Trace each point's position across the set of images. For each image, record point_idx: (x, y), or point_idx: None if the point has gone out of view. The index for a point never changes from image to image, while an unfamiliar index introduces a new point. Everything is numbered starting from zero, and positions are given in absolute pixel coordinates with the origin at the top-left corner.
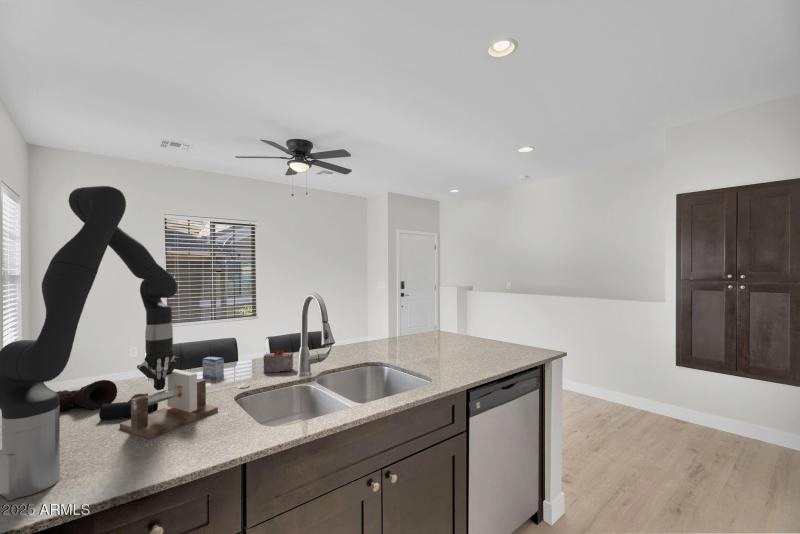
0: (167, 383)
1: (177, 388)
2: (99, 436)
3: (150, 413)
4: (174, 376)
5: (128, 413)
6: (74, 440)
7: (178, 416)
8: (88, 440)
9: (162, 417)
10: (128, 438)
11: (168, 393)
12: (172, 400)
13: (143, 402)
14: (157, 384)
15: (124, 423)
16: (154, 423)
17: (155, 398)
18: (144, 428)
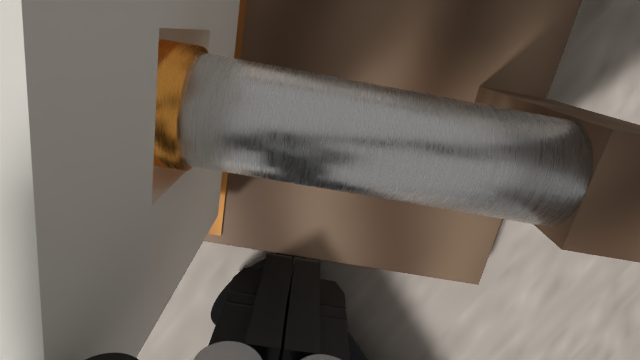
0: (149, 332)
1: (203, 86)
2: (571, 270)
3: (316, 245)
4: (92, 266)
5: (362, 353)
6: (620, 334)
7: (299, 1)
8: (618, 277)
9: None
10: (582, 94)
11: (339, 89)
12: (210, 174)
13: (628, 129)
14: (330, 318)
15: (477, 256)
16: (444, 69)
17: (496, 110)
18: (526, 61)
